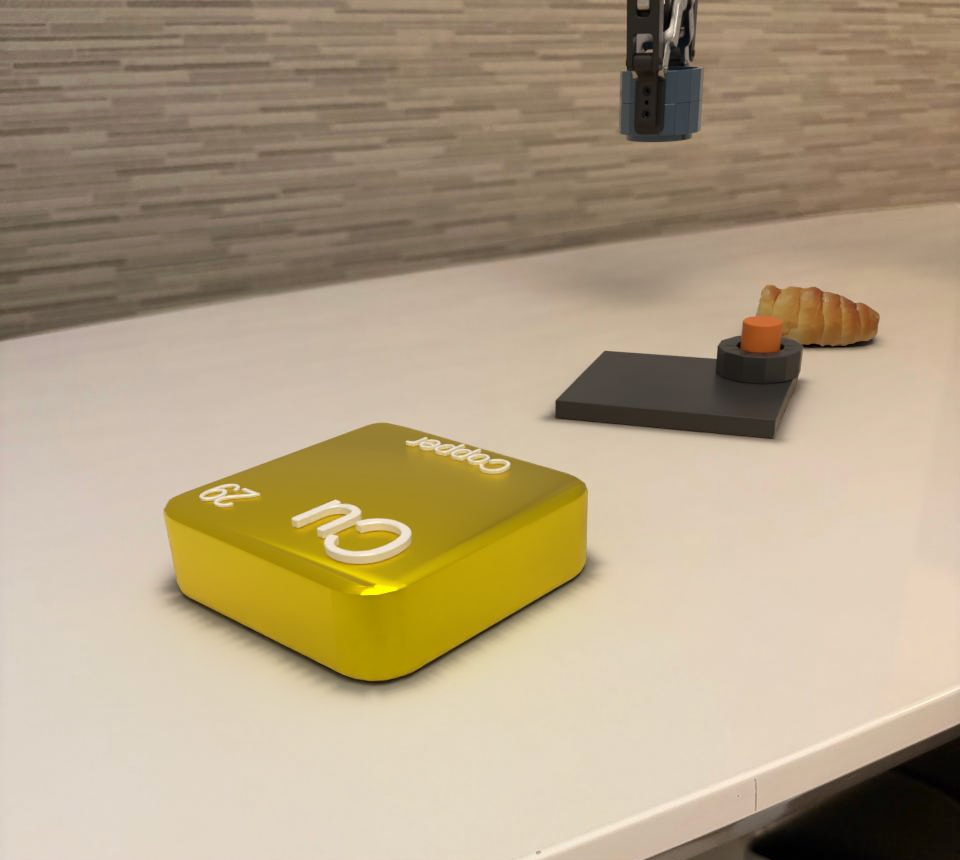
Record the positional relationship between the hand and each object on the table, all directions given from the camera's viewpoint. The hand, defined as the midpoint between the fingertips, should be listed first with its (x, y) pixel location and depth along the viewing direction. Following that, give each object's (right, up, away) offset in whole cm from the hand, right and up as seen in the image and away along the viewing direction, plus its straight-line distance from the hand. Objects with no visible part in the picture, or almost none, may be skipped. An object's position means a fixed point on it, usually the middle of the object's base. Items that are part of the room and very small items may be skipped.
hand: (659, 128), depth 87 cm
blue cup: (0, -1, 0) cm, 1 cm away
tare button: (+4, -22, -14) cm, 26 cm away
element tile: (-19, -38, -35) cm, 55 cm away
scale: (-1, -25, -14) cm, 28 cm away
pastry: (+11, -17, -1) cm, 21 cm away
